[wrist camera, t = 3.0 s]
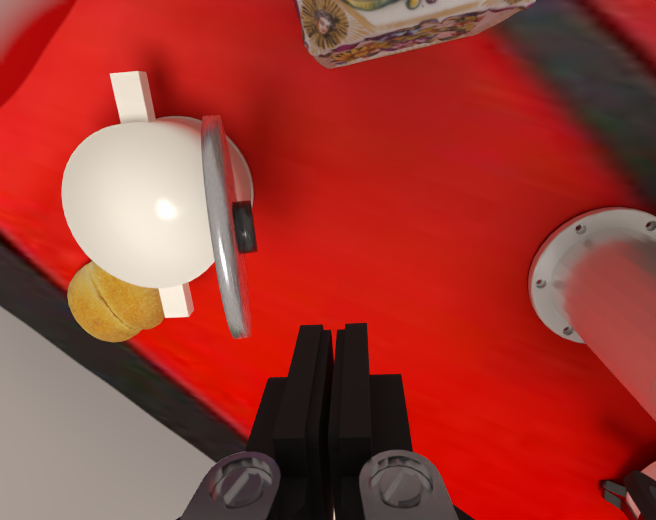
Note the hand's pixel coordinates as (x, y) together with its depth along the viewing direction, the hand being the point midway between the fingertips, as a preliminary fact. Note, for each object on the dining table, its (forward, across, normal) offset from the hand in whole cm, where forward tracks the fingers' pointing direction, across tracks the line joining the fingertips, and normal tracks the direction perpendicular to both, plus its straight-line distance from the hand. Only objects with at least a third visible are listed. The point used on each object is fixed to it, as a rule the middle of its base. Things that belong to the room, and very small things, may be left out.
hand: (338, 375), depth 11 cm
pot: (+28, +15, 0) cm, 32 cm away
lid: (+14, +7, 0) cm, 16 cm away
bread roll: (+29, +23, +10) cm, 38 cm away
